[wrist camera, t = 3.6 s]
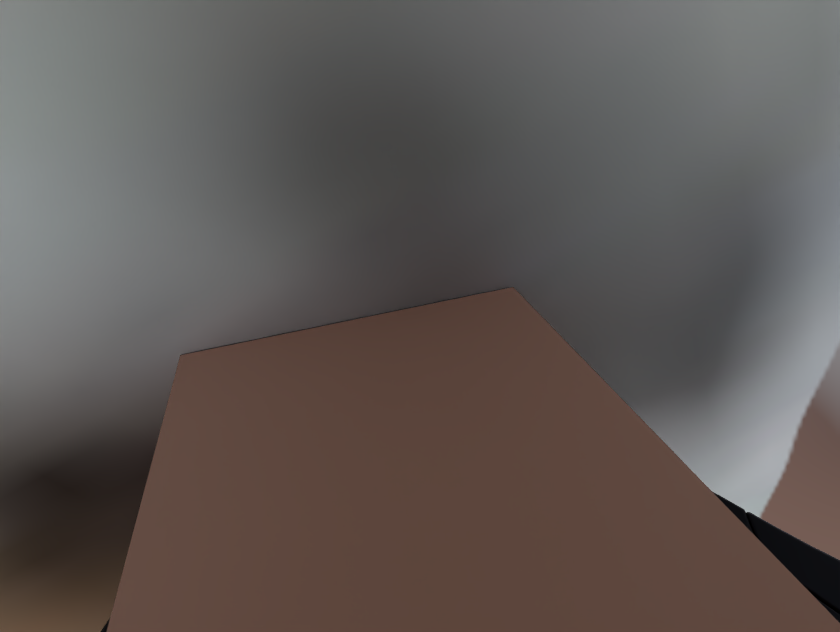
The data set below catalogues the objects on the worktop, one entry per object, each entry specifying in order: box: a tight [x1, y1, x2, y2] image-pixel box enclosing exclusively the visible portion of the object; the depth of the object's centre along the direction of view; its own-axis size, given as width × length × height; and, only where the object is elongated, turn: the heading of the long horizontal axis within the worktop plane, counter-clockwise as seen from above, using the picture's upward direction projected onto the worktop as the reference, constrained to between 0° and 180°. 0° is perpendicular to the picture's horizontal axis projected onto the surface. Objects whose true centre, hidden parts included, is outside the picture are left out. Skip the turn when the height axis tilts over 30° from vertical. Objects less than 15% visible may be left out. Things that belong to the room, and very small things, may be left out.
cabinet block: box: [107, 287, 840, 632], centre depth 7 cm, size 6×6×7 cm
